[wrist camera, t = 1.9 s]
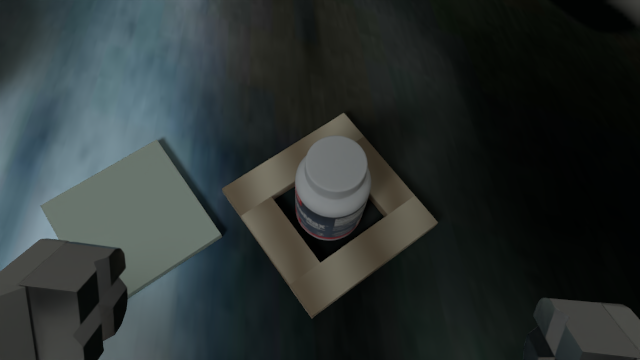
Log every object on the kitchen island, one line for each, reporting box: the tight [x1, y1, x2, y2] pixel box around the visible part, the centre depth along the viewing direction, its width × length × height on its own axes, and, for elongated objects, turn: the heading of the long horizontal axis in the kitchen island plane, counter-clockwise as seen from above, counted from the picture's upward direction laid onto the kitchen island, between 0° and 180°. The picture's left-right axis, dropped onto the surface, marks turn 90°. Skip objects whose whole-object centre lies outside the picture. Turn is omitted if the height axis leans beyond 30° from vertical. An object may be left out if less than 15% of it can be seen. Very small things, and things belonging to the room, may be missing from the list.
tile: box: [41, 140, 222, 298], centre depth 38 cm, size 10×10×1 cm
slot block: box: [222, 113, 438, 318], centre depth 39 cm, size 12×12×1 cm
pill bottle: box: [295, 135, 371, 240], centre depth 35 cm, size 5×5×9 cm
